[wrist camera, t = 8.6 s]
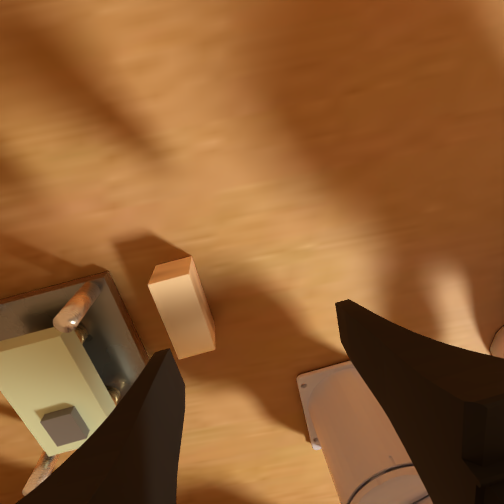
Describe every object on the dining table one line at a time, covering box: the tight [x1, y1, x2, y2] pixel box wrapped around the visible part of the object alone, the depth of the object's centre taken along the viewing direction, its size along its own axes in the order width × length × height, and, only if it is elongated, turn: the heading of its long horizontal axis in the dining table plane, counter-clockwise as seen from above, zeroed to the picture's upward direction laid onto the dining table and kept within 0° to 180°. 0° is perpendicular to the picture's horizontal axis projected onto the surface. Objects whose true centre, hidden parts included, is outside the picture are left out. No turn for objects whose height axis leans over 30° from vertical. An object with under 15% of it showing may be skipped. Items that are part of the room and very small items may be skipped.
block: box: [148, 256, 215, 360], centre depth 21 cm, size 6×3×3 cm, turn 13°
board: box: [0, 327, 116, 456], centre depth 20 cm, size 9×5×2 cm, turn 13°
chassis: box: [0, 271, 149, 496], centre depth 21 cm, size 13×10×5 cm
